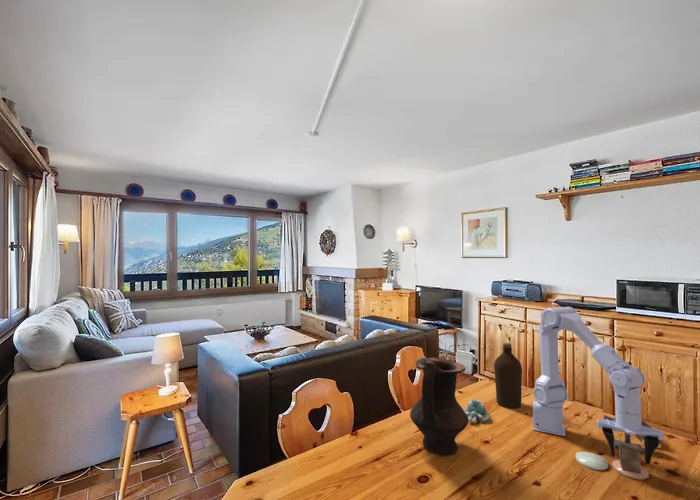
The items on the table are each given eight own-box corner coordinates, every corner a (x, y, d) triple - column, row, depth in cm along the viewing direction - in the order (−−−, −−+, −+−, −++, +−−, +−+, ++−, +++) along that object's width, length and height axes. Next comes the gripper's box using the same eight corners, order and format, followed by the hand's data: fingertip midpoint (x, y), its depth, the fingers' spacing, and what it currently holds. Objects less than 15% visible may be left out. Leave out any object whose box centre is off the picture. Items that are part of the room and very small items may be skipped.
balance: (598, 444, 111) (597, 416, 111) (596, 437, 115) (595, 411, 115) (663, 457, 103) (661, 428, 103) (658, 450, 107) (657, 421, 107)
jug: (420, 427, 124) (419, 344, 125) (474, 440, 114) (471, 350, 115) (399, 456, 105) (397, 359, 106) (460, 475, 96) (457, 367, 97)
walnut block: (622, 469, 96) (621, 448, 96) (619, 462, 100) (619, 441, 100) (640, 474, 94) (640, 452, 94) (637, 466, 98) (636, 445, 98)
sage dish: (576, 465, 100) (576, 462, 100) (574, 451, 107) (574, 449, 107) (610, 473, 96) (610, 470, 96) (606, 458, 103) (606, 456, 103)
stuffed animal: (456, 407, 128) (463, 391, 138) (457, 425, 128) (464, 407, 139) (486, 414, 122) (492, 396, 132) (487, 432, 123) (493, 413, 133)
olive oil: (509, 411, 135) (507, 348, 136) (489, 401, 145) (487, 342, 146) (529, 407, 139) (527, 345, 140) (508, 397, 149) (506, 339, 150)
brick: (659, 448, 108) (659, 433, 109) (644, 446, 110) (644, 431, 110) (642, 432, 119) (641, 418, 119) (628, 430, 120) (628, 417, 120)
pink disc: (615, 474, 95) (615, 471, 95) (610, 459, 102) (610, 457, 102) (652, 483, 91) (652, 480, 91) (644, 467, 98) (644, 464, 98)
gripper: (598, 410, 97) (600, 458, 97) (665, 421, 90) (668, 474, 90) (595, 401, 104) (597, 446, 103) (658, 411, 96) (660, 460, 96)
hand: (629, 458), depth 97 cm, fingers open, 7 cm apart
